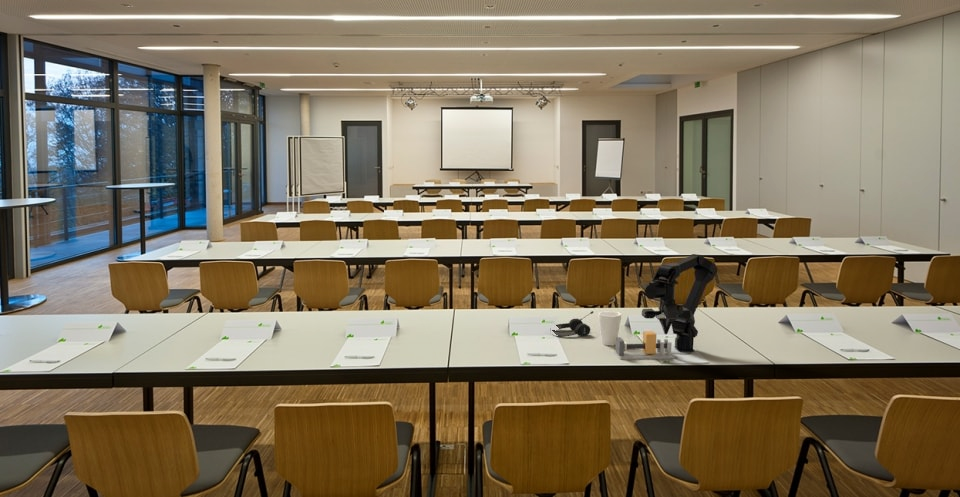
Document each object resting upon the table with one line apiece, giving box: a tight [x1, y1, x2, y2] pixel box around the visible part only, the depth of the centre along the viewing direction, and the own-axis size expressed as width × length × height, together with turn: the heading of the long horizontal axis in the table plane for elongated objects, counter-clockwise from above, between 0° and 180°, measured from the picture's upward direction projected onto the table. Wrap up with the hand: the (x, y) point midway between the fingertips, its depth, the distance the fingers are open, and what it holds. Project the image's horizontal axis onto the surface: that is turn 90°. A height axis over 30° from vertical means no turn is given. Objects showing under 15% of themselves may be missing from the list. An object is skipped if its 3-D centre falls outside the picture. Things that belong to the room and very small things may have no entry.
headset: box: [552, 311, 594, 338], centre depth 325 cm, size 14×10×20 cm
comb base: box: [613, 336, 676, 360], centre depth 291 cm, size 22×10×7 cm, turn 93°
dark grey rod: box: [624, 341, 668, 351], centre depth 290 cm, size 21×3×3 cm, turn 93°
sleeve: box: [641, 330, 657, 354], centre depth 290 cm, size 4×5×8 cm
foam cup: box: [597, 310, 622, 346], centre depth 307 cm, size 10×9×13 cm
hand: (665, 334), depth 290 cm, fingers closed
